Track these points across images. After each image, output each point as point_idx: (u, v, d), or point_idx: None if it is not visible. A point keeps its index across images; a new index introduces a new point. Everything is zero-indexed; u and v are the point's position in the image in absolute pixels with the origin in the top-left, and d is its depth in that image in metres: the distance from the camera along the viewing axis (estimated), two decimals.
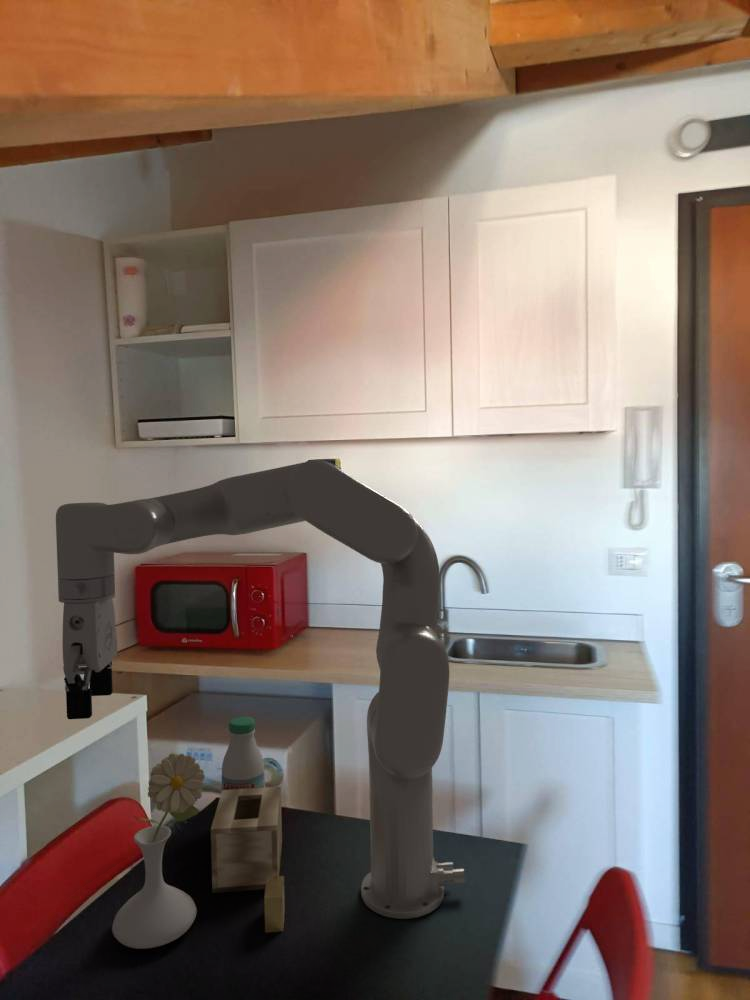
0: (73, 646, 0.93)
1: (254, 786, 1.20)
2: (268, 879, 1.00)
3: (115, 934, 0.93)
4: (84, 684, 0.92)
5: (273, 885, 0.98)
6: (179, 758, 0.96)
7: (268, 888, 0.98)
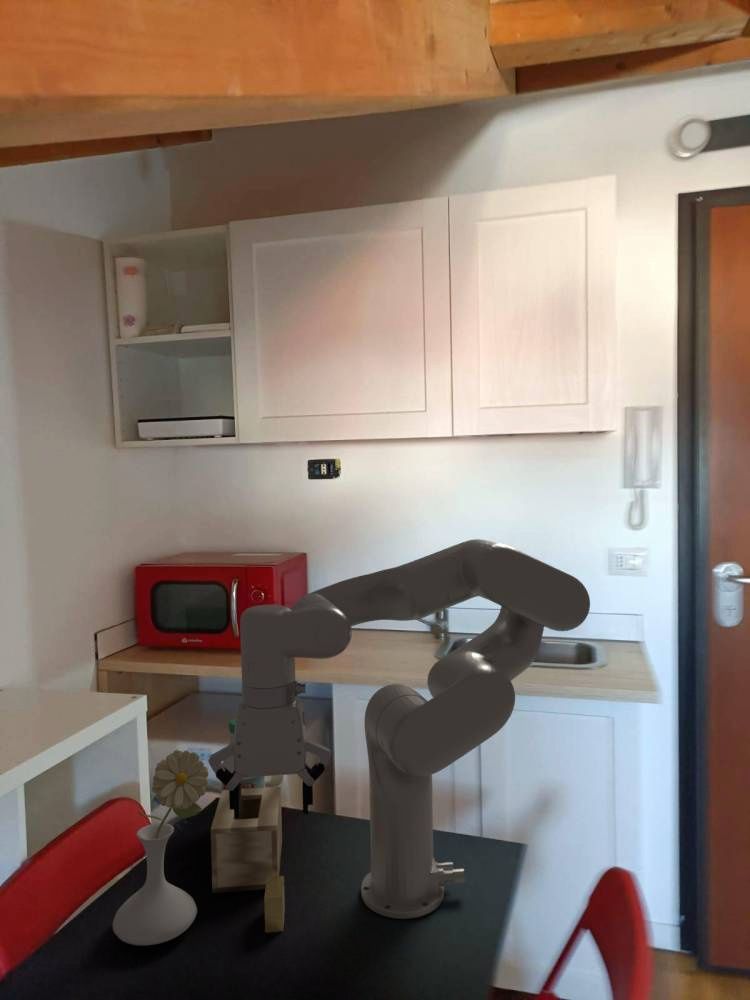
0: (307, 741, 0.97)
1: (254, 786, 1.20)
2: (268, 879, 1.00)
3: (115, 931, 0.93)
4: None
5: (273, 885, 0.98)
6: (184, 755, 0.97)
7: (268, 888, 0.98)
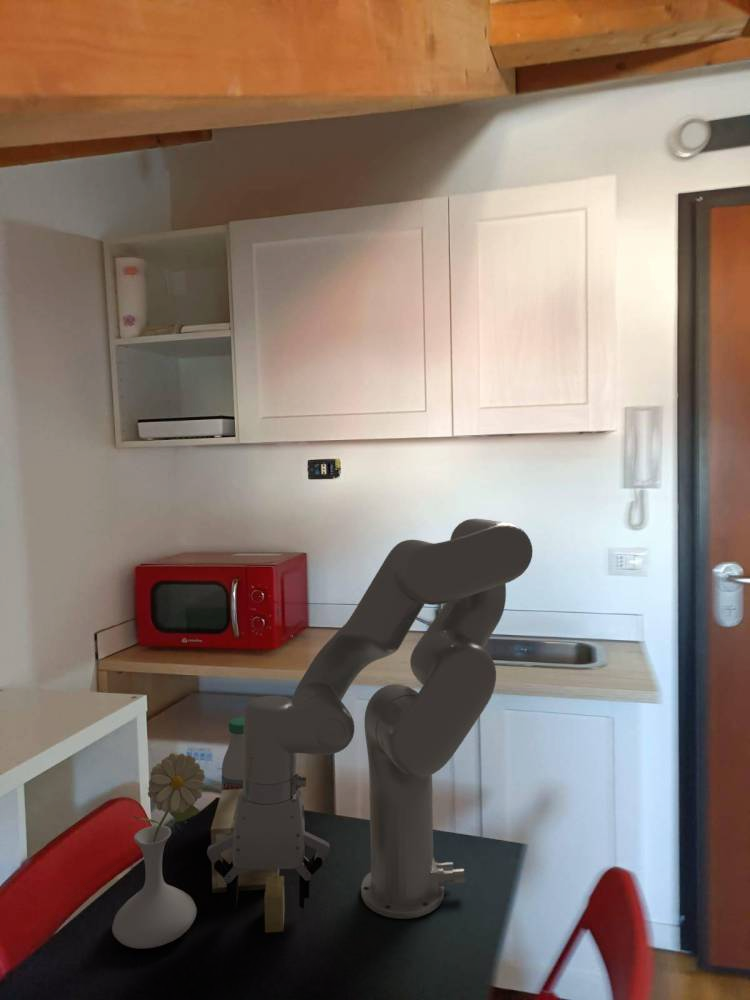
0: (305, 834, 0.97)
1: None
2: (268, 879, 1.00)
3: (115, 934, 0.93)
4: None
5: (273, 885, 0.98)
6: (179, 758, 0.96)
7: (268, 888, 0.98)
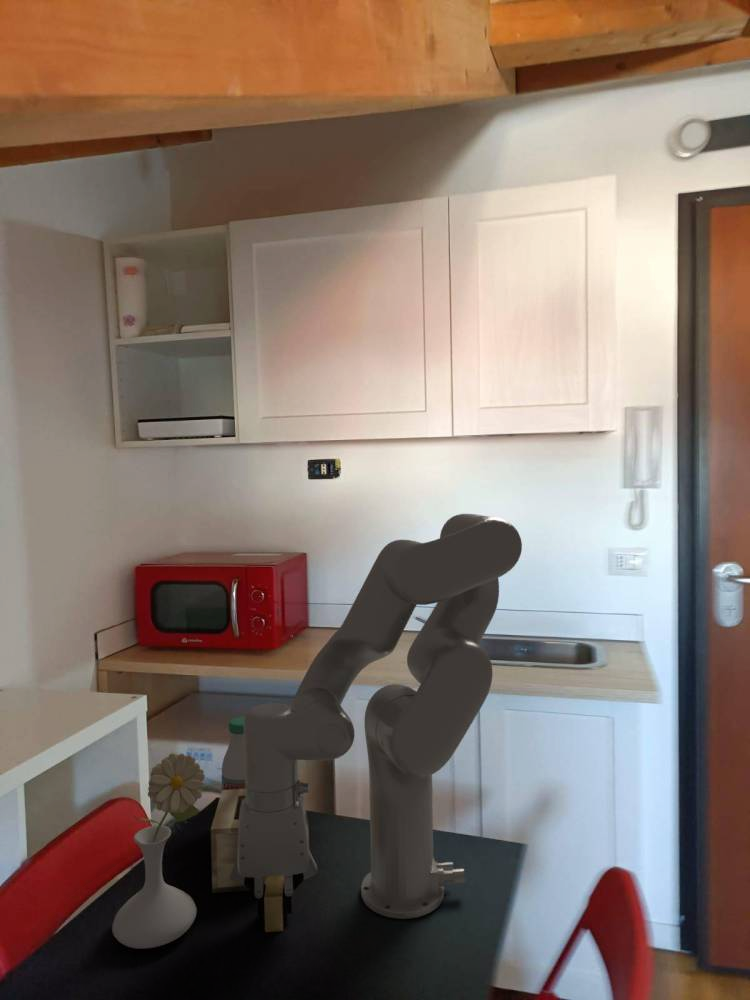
0: None
1: None
2: (268, 878, 1.00)
3: (115, 934, 0.93)
4: None
5: (273, 884, 0.98)
6: (179, 758, 0.96)
7: (268, 887, 0.98)
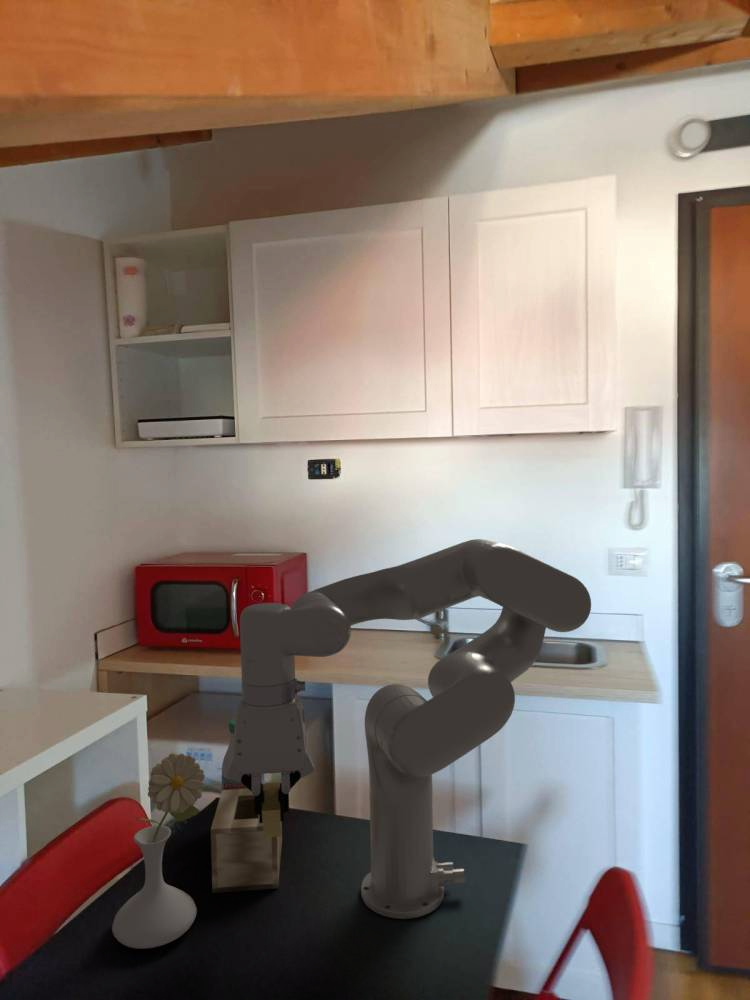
0: None
1: None
2: (265, 786, 0.99)
3: (115, 934, 0.93)
4: None
5: (270, 794, 0.97)
6: (179, 758, 0.96)
7: (265, 798, 0.97)
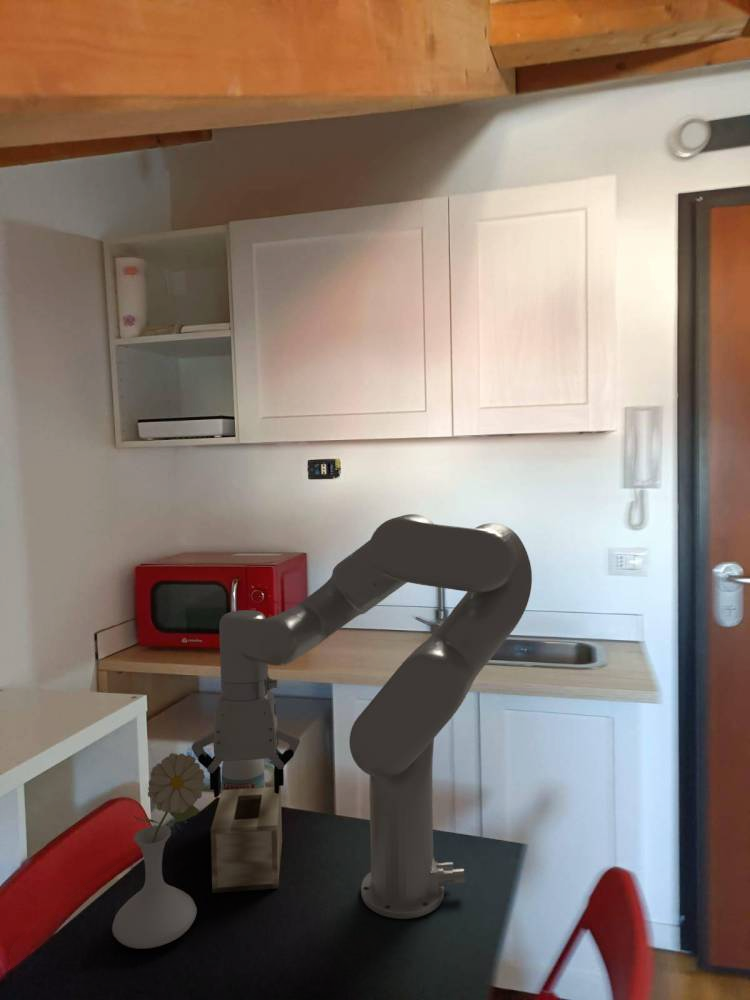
0: (278, 730, 1.11)
1: (254, 786, 1.20)
2: None
3: (115, 934, 0.93)
4: None
5: None
6: (179, 758, 0.96)
7: None
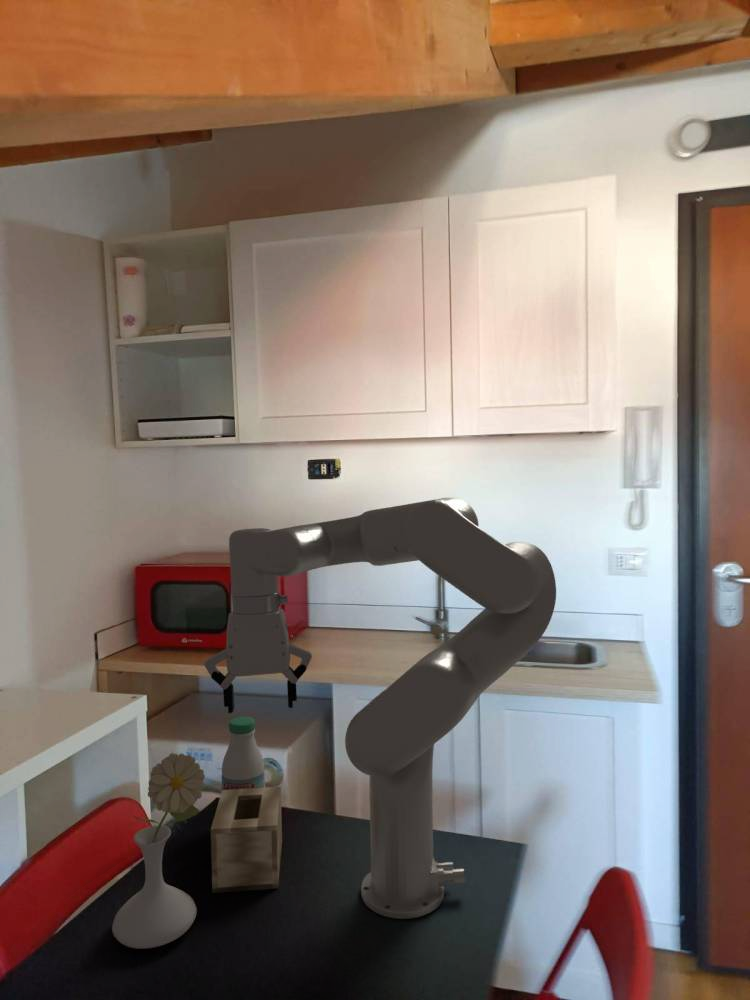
0: (290, 645, 1.12)
1: (254, 786, 1.20)
2: None
3: (115, 934, 0.93)
4: None
5: None
6: (179, 758, 0.96)
7: None
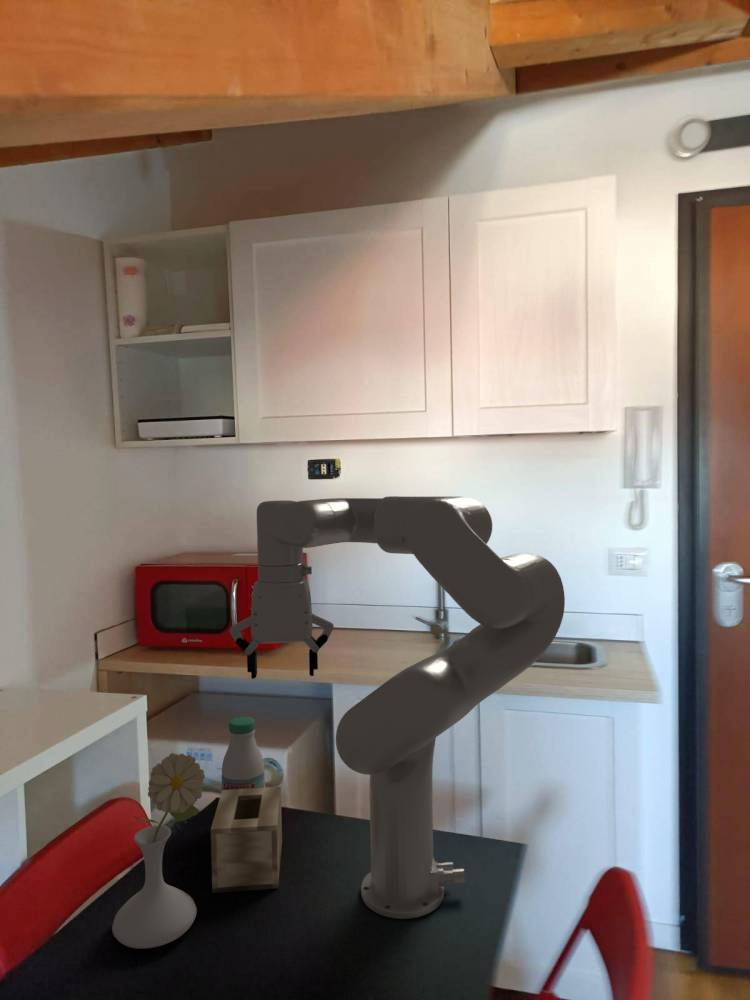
0: (312, 615, 1.15)
1: (254, 786, 1.20)
2: None
3: (115, 934, 0.93)
4: None
5: None
6: (179, 758, 0.96)
7: None
